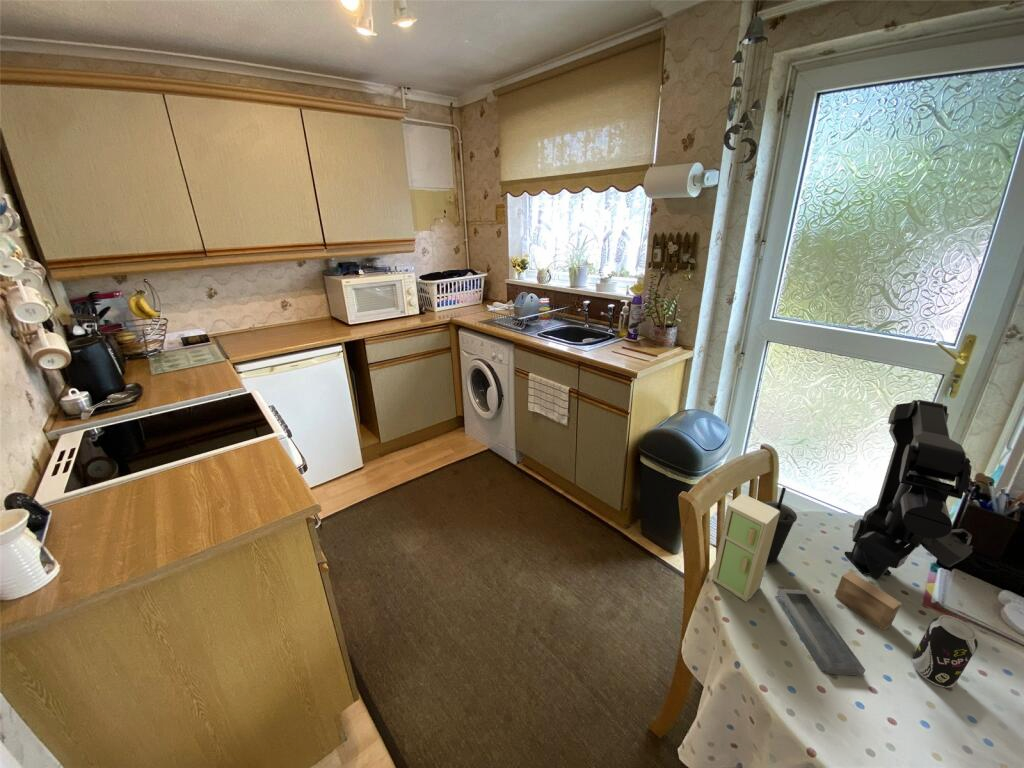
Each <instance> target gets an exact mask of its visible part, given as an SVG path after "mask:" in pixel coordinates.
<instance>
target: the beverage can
mask: <svg viewBox="0 0 1024 768" xmlns="http://www.w3.org/2000/svg"><path fill="white" fill-rule="evenodd" d="M978 646H979V643H978V640H977V633H976V631H975V630H974V628H972V626H970V624H968V623H966V622H965V621H964V620H961V619H960V618H957V617H954V616H951V615H946V614H943V615H940V616H938V617H936V618H933V619H932V620H930V622H929V625H928V627H927V628H926V630H925V632H924V634H923V636H922V638H921V639H920V642H919V644H918V646H917V647H916V649H915V651H914V653H913V655H912V657H911V663H912V667H913V668H914V669H915V671H917V673H918V674H919V675H921V676H922V678H924V679H925V680H926V681H928V682H930V683H932V684H934V685H936V686H939V687H942V688H946V689H947V688H953V687H955V686H956V684H957V682H958V681H959V679H960V677H961V675H962V674H963V672H964V670H965V669H966V668H967V666H968V664H969V662H970V661H971V659H972V657H973V655H974V654H975V652H976V650H977V649H978Z"/></svg>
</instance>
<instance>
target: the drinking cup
mask: <svg viewBox="0 0 1024 768" xmlns="http://www.w3.org/2000/svg"><path fill="white" fill-rule="evenodd" d="M786 490H787V488H786V487H784V486H783V487H782V488H781V491H780V495H779V498H778V501H773V500H763V501H761V502H762V503H764V504H767V505H769V506H771V507H773V508H775V509H777V510H779V511H780V515H779V519H778V522H777V526H776V530H775V533H774V537H773V541H772V544H771V548H770V552H769V555H768V559H767V563H766V564H769V565H770V564H771V565H772V564H775V563H776V562H777V560H778V558H779V556H780V553H781V551H782V549H783V548H784V545H785V542H786V541H787V538H788V536H789V534H790V532H791V529H792V527H793V525H794V523H796V522H797V520H798V519H797V518H798V515H797V513H796V512H795V510H793V509H792V508H791V507H790V506H788V505H786V504H785V503H783V501H784V497H785V494H786Z"/></svg>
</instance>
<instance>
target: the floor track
mask: <svg viewBox="0 0 1024 768" xmlns="http://www.w3.org/2000/svg"><path fill="white" fill-rule="evenodd" d="M775 599H776V601H777V602H778V604H779V606H780V607H781V609H782V611H783V612H784V614H785V615H786V618H788V620H789V622H790V623H791V625H792V627H793V628H794V630H795V631H796V633H797V635H798V636H799V638H800V640H801V642H802V643H803V644H804V646H805V647H806V649H807V652H808V653H809V654H810V656H811V657H812V659H813V661H814V662H815V664H816V666H817V668H819V670H820V671H821V673H826V674H830V675H831V674H832V675H847V676H848V675H850V676H863V677H864V675H865V672H866V669H865V667H864V665H863V664H862V662H860V660H859V659H858V657H857V656H856V655H855V654H854V652H853V650H851V648H850V647H849V645H848V643H847V642H846V641H845V640H844V638H843V636H842V635H841V633H839V631H838V630H837V628H836V627H835V625H834V624H833V623H832V622H831V620H830V619H829V617H828V616H827V615H826V613H825V612H824V610H823V609H822V608H821V606H820V605H819V604H818V602H817V601H816V600H815V598H814V596H813V595H812V593H810V591H809V590H808V589H807V590H806V589H788V588H787V589H786V588H784V589H783V588H778V589H777V591H776V595H775Z"/></svg>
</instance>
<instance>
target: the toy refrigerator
mask: <svg viewBox="0 0 1024 768" xmlns="http://www.w3.org/2000/svg"><path fill="white" fill-rule="evenodd" d="M762 502H763V501H760V500H758V499H755V498H753V497H751V496H749V495H747V494H745V493H740V494H739V495H738V496H737V497H736V498H734V499H733V500H731V501H730V502H729V504H728V505H727V508H726V512H725V515H724V520H723V525H722V529H721V534H720V539H719V543H718V548H717V552H716V553H717V554H716V557H715V558H716V559H715V563H714V567H713V572H712V578H711V580H712V581H714V582H715V583H717V584H718V585H719V586H721V587H722V588H724V589H726V590H727V591H729V592H730V593H732V594H733V595H735V596H737V597H738V598H739V599H740V600H743V601H744V602H748V601H749V600H750V599H751V598H752V597H753V596H754V595H755V593H756V592H758V590H759V588H760V587H761V585H762V581H763V577H764V574H765V570H766V566H767V564H768V563H767V559H768V555H769V552H770V548H771V544H772V541H773V537H774V533H775V530H776V526H777V522H778V519H779V515H780V511H779V510H777V509H775V508H773V507H771V506H769V505H767V504H764V503H762Z"/></svg>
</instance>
